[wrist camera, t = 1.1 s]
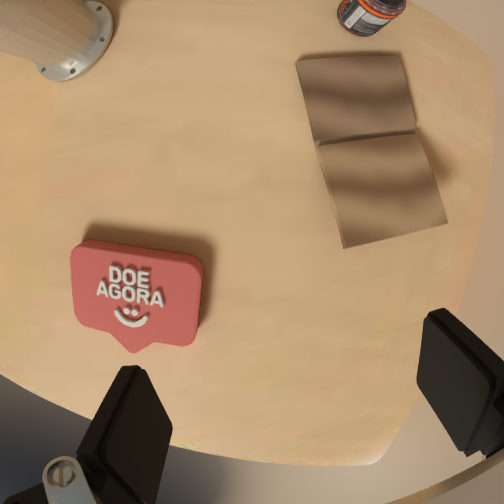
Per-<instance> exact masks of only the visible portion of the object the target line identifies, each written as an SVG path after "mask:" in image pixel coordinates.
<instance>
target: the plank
mask: <svg viewBox="0 0 504 504" xmlns="http://www.w3.org/2000/svg"><path fill="white" fill-rule="evenodd" d="M316 153H317V156H318V159H319V162H320V165H321V169H322V172H323V175H324V178H325V182H326V185H327V189H328V192H329V196H330V199H331V203H332V206H333V210H334V214H335V217H336V221H337V225H338V229H339V233H340V237H341V241H342V245H343V249H346V248H350V247H355V246H359V245H363V244H367V243H372V242H376V241H380V240H384V239H388V238H392V237H397V236H401V235H405V234H409V233H413V232H417V231H421V230H425V229H429V228H433V227H437V226H441V225H445V224H447V223H448V221H447V217H446V213H445V210H444V207H443V203H442V200H441V197H440V193H439V190H438V187H437V184H436V181H435V178H434V175H433V173H432V170H431V167H430V164H429V162H428V159H427V156H426V154H425V151H424V149H423V146H422V144H421V141H420V139H419V136H418V134H408V135H397V136H388V137H379V138H371V139H363V140H355V141H348V142H341V143H335V144H328V145H322V146H317V149H316Z"/></svg>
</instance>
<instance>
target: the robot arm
mask: <svg viewBox="0 0 504 504" xmlns="http://www.w3.org/2000/svg"><path fill="white" fill-rule="evenodd" d="M113 28H114V21H113V17H112V14H111V12H110V11H109V9H108V8H107V7H106V6H105V5H103V4H102V3H100V2H97V1H89V0H88V1H81V0H0V51H2V52H5V53H8V54H12V55H15V56H18V57H21V58H24V59H27V60H30V61H33V62H35V63H36V66H37V69H38V71H39V72H40V74H41V75H42V76H44V77H45V78H46V79H49V80H52V81H57V82H60V81H67V80H71V79H73V78H76V77H78V76H80V75H81V74H83V73H84V72H86V71H87V70H88V69H90V68H91V67H92V66H93V65H94V64H95V63H96V62H97V61H98V60H99V59H100V57H101V56H102V54H103V53H104V52H105V50H106V48H107V46H108V45H109V42H110V40H111V37H112V33H113ZM416 379H417V385H418V387H419V389H420V390H421V392H422V393H423V395H424V396H425V398H426V399H427V401H428V402H429V404H430V405H431V407H432V408H433V410H434V412H435V413H436V415H437V416H438V418H439V420H440V421H441V423H442V424H443V426H444V428H445V429H446V431H447V433H448V434H449V436H450V437H451V439H452V441H453V442H454V444H455V446H456V447H457V449H458V450H459V451H463V452H464V453H465V455H466V457H468V456H470V455H472V454H474V453H475V452H477V451H479V450H480V451H481V452H482V454H483V456H482V461H481V462H480V463H478V464H476V465H474V466H472V467H470V468H469V469H467V470H465V471H463V472H461V473H459V474H457V475H455V476H453V477H451V478H449V479H447V480H444V481H442V482H440V483H438V484H436V485H433V486H431V487H429V488H427V489H424V490H422V491H419V492H417V493H414V494H412V495H409V496H407V497H404V498H401V499H398V500H395V501H393V502H390V503H386V504H504V361H503V360H502V359H501V358H500V357H499V356H498V355H497V354H496V353H495V352H493V351H492V350H491V349H490V348H489V347H488V346H487V345H486V344H485V343H484V342H483V341H482V340H481V339H480V338H478V337H477V336H476V335H475V334H474V333H473V332H472V331H471V330H470V329H468V328H467V327H466V326H465V325H464V324H463V323H462V322H461V321H459V320H458V319H457V318H456V317H455V316H454V315H453V314H451V313H450V312H449V311H448V310H447V309H445V308H440V309H437V310H434V311H431V312H429V313H428V315H427V317H426V318H425V319H424V322H423V332H422V342H421V350H420V358H419V365H418V371H417V378H416ZM172 430H173V428H172V423H171V421H170V419H169V417H168V415H167V413H166V411H165V409H164V407H163V405H162V403H161V401H160V399H159V397H158V395H157V393H156V391H155V389H154V387H153V385H152V383H151V381H150V378H149V376H148V374H147V372H146V371H145V370H144V369H141V367H140V366H138V365H133V366H122V367H121V368H120V370H119V372H118V374H117V376H116V377H115V379H114V381H113V383H112V385H111V387H110V388H109V390H108V392H107V394H106V396H105V398H104V399H103V401H102V403H101V405H100V407H99V409H98V411H97V413H96V414H95V416H94V418H93V420H92V422H91V424H90V426H89V428H88V430H87V432H86V434H85V436H84V438H83V440H82V442H81V444H80V446H79V448H78V450H77V452H76V453H77V454H78V456H77V458H76V460H75V459H74V458H72V457H68V456H62V457H59V458H56V459H54V460H52V461H51V462H50V463H49V464H48V465H47V466H46V468H45V469H44V472H43V483H41V484H38V485H36V486H34V487H32V488H29V489H27V490H25V491H22V492H20V493H17V494H15V495H13V496H11V497H9V498H8V499H6V500H5V501H4V503H3V504H155V502H156V497H157V493H158V489H159V485H160V480H161V476H162V472H163V468H164V463H165V459H166V455H167V451H168V447H169V443H170V439H171V435H172Z"/></svg>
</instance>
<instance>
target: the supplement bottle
mask: <svg viewBox="0 0 504 504" xmlns="http://www.w3.org/2000/svg"><path fill="white" fill-rule="evenodd" d="M405 6H406V0H343V1H342V2H341V4H340V5H339V7H338V10H337V16H338V20H339V22H340V23H341V25H342V26H343V27H344V28H345V29H346V30H347V31H349V32H350V33H352V34H355V35H357V36H362V37H367V36H371V35H373V34H375V33H376V32H377V31H379V30H380V29H381V28H383V27H384V26H385V25H387V24H388V23H389V22H390V21H392V20H393V19H394V18H396V17H397V16H398V15H400V14H401V13H402V12H403V11H404V9H405Z"/></svg>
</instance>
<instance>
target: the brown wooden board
mask: <svg viewBox="0 0 504 504" xmlns="http://www.w3.org/2000/svg"><path fill="white" fill-rule="evenodd" d="M295 65H296V69H297V72H298V76H299V80H300V84H301V88H302V92H303V96H304V100H305V104H306V109H307V113H308V117H309V122H310V126H311V131H312V135H313V140H314V145H315V148H316V147H317V146H322V145H328V144H335V143H341V142H348V141H355V140H363V139H371V138H379V137H388V136H397V135H408V134H415V132H414V129H417V128H416V123H415V118H414V113H413V108H412V103H411V99H410V94H409V90H408V86H407V82H406V78H405V74H404V71H403V67H402V63H401V60H400V57H399V56H349V57H331V58H319V59H308V60H299V61H296V63H295Z"/></svg>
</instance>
